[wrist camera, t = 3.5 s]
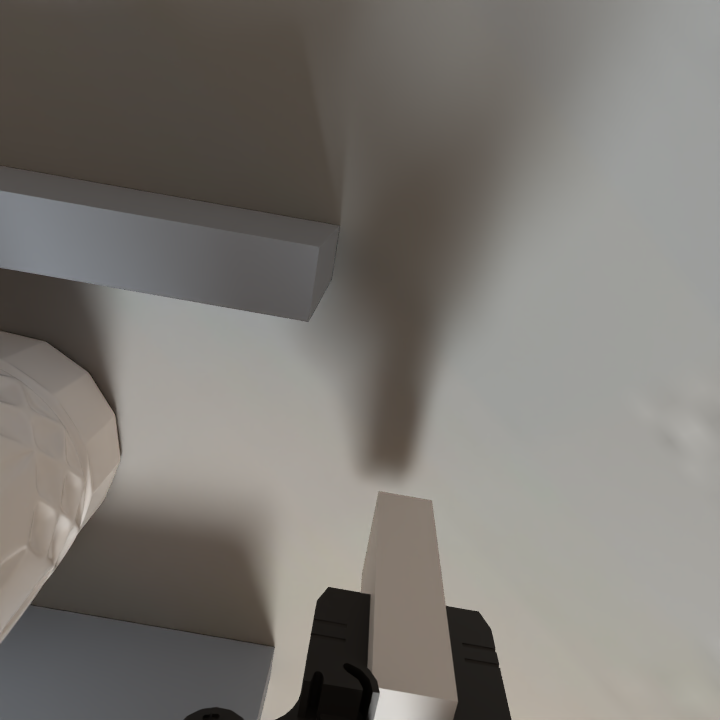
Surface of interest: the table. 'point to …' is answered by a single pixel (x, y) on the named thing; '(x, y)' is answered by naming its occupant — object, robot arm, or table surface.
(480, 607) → the table surface
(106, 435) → the white cup
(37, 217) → the walled channel
